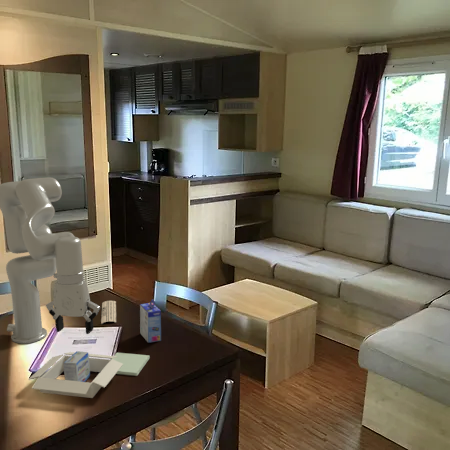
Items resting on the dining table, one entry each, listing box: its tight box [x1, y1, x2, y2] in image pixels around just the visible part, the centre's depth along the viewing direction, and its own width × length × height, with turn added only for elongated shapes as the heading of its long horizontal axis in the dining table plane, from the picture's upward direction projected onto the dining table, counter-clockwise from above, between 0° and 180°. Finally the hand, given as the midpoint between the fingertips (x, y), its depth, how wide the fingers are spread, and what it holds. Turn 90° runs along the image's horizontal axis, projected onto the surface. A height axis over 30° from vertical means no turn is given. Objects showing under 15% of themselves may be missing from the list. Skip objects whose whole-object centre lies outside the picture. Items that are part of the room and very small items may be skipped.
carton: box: [28, 351, 123, 399], centre depth 149 cm, size 25×23×5 cm
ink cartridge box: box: [139, 299, 162, 344], centre depth 180 cm, size 10×6×14 cm, turn 27°
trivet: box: [110, 352, 151, 377], centre depth 160 cm, size 12×12×1 cm
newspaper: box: [100, 300, 117, 325], centre depth 205 cm, size 24×7×2 cm, turn 13°
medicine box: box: [63, 350, 91, 382], centre depth 149 cm, size 8×4×9 cm, turn 168°
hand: (74, 331), depth 146 cm, fingers open, 9 cm apart
